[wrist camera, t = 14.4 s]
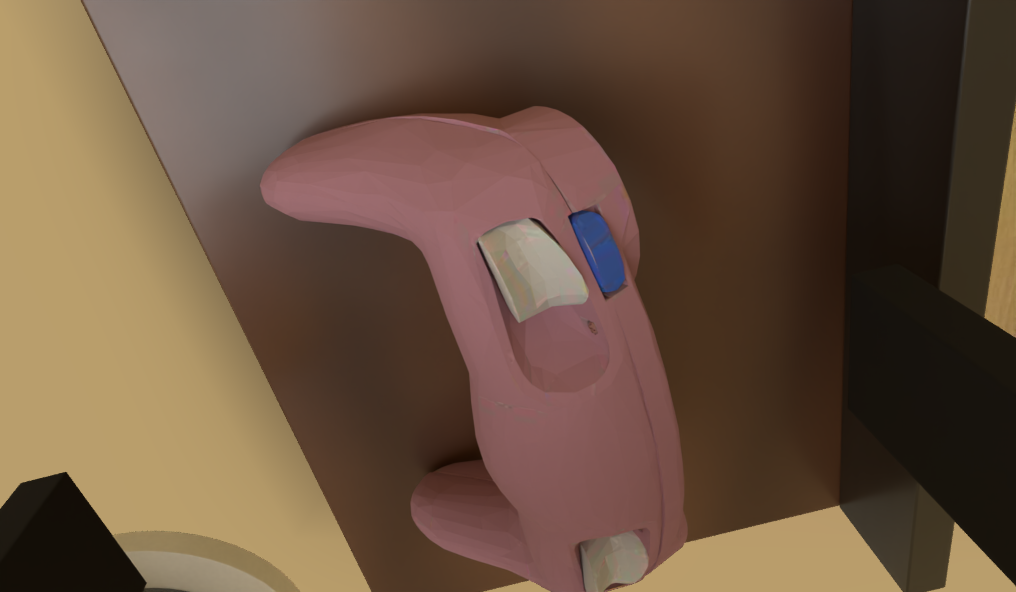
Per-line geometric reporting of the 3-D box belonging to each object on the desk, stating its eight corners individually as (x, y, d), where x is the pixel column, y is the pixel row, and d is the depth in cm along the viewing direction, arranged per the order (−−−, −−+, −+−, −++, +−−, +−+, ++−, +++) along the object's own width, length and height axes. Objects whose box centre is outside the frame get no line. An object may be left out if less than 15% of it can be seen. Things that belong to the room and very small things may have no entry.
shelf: (386, 574, 20) (373, 724, 16) (80, -82, 12) (-103, -106, 8) (843, 462, 20) (946, 588, 16) (865, -285, 11) (1094, -419, 8)
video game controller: (549, 426, 18) (759, 588, 12) (407, 520, 16) (574, 757, 11) (444, 67, 13) (700, 67, 8) (230, 147, 12) (360, 219, 6)
